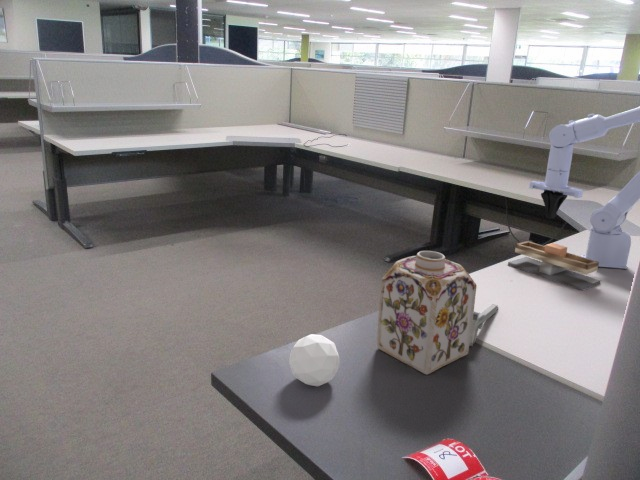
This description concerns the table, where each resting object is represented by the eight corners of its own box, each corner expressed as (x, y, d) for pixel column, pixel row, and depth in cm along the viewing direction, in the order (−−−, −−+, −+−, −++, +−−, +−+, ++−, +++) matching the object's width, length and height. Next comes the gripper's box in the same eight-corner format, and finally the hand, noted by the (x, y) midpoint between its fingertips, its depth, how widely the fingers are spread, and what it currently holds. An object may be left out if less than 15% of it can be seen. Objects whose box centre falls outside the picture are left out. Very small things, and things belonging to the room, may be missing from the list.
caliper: (471, 349, 95) (475, 317, 93) (465, 347, 96) (469, 315, 94) (498, 309, 112) (502, 281, 110) (493, 307, 113) (496, 280, 111)
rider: (543, 254, 132) (545, 244, 131) (550, 252, 134) (552, 243, 133) (558, 259, 129) (560, 249, 128) (565, 256, 131) (567, 247, 130)
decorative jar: (374, 348, 94) (380, 251, 88) (417, 330, 101) (425, 239, 96) (428, 377, 85) (438, 272, 80) (470, 355, 92) (483, 257, 87)
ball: (326, 395, 84) (358, 364, 81) (291, 397, 79) (324, 364, 75) (305, 355, 89) (335, 325, 86) (271, 355, 83) (301, 322, 80)
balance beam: (507, 264, 138) (510, 244, 136) (526, 259, 143) (529, 239, 141) (582, 290, 123) (586, 267, 121) (600, 283, 127) (604, 261, 126)
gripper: (525, 166, 148) (519, 214, 152) (575, 175, 137) (567, 226, 141) (540, 164, 152) (533, 211, 156) (590, 173, 141) (581, 222, 145)
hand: (550, 218), depth 148 cm, fingers closed
